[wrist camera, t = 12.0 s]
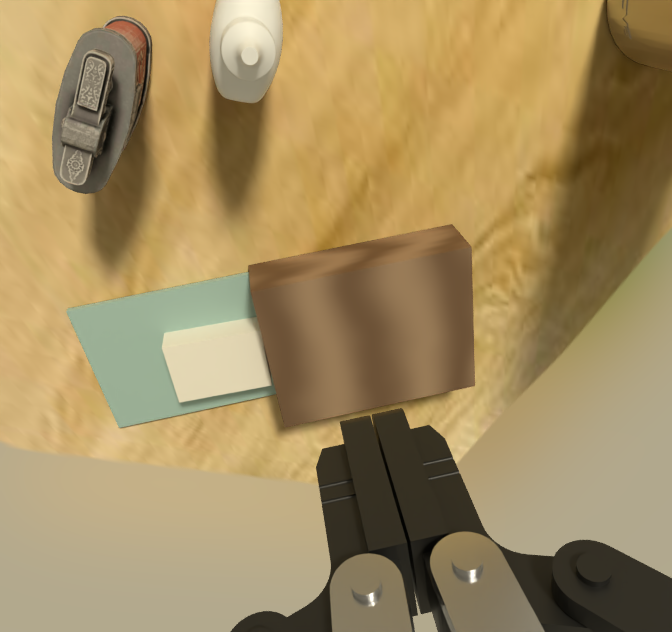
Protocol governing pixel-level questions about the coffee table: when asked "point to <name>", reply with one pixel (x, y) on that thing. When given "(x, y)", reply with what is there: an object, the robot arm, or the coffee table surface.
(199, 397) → the tile
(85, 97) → the lighter
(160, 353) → the mat
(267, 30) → the eye dropper bottle
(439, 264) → the wooden block
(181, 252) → the coffee table surface
